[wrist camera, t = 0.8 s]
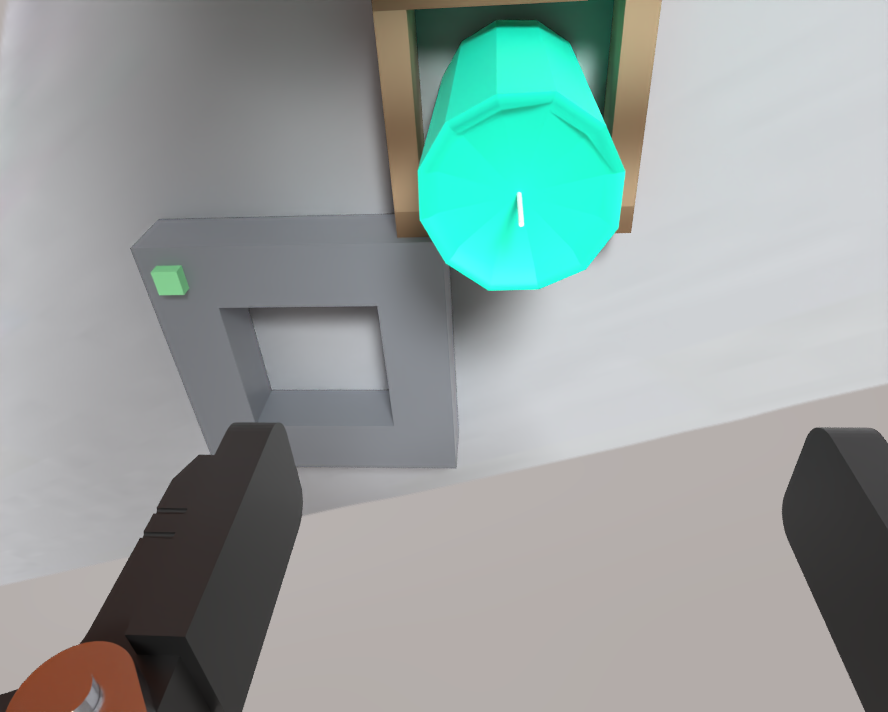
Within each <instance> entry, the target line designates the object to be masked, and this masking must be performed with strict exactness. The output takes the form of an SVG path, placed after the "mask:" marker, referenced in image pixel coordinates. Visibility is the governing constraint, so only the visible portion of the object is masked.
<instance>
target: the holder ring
mask: <svg viewBox="0 0 888 712" xmlns="http://www.w3.org/2000/svg"><path fill="white" fill-rule="evenodd" d="M371 1H372V10H373V19H374V29H375V38H376V47H377V56H378V65H379V74H380V84H381V93H382V102H383V111H384V120H385V129H386V138H387V148H388V157H389V166H390V175H391V184H392V193H393V203H394V212H395V221H396V230H397V238H407V237H430V236H429V235H428V233H427V231H426V230H425V228H424V226H423V225H422V223H421V221H420V216H419V192H418V167H419V164H420V160H421V156H422V152H423V148H424V133H423V120H422V106H421V93H420V79H419V66H418V52H417V39H416V25H415V12H414V9H432V8H452V7H471V6H490V5H509V4H529V3H548V2H567V1H586V0H371ZM661 2H662V0H614V8H613V19H612V30H611V40H610V51H609V62H608V73H607V83H606V94H605V105H604V116H603V120H604V122H605V124H606V126H607V129H608V131H609V133H610V136H611V138H612V140H613V143H614V145H615V148H616V150H617V152H618V155H619V157H620V159H621V162H622V164H623V166H624V169H625V171H626V172H625V180H624V188H623V196H622V204H621V212H620V220H619V228H618V229H617V230H616V232H615V233H631V228H632V221H633V213H634V206H635V198H636V191H637V183H638V176H639V168H640V160H641V153H642V145H643V138H644V130H645V123H646V115H647V108H648V100H649V93H650V85H651V77H652V70H653V62H654V55H655V47H656V40H657V32H658V25H659V17H660V10H661Z"/></svg>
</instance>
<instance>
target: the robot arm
mask: <svg viewBox="0 0 888 712" xmlns="http://www.w3.org/2000/svg"><path fill="white" fill-rule="evenodd" d="M302 505H303V498H302V489H301V484H300V480H299V477H298V473H297V469H296V465H295V462H294V458H293V454H292V451H291V447H290V443H289V439H288V436H287V432H286V429H285V427H284V425H283V424H282V423H267V422H235V423H232V424H231V425H230V426H229V427H228V429H227V431H226V433H225V435H224V437H223V439H222V441H221V443H220V445H219V447H218V449H217V451H216V453H215V455H198V456H197V457H196V458H195V459H194V460H193V461H192V462H191V463H190V464H188V465H187V466H186V467H185V468H184V469H183V470H182V471H181V472H180V473H179V474H178V475H177V476H176V477H174V478H173V479H172V481H171V483H170V485H169V487H168V488H167V490H166V492H165V494H164V496H163V497H162V499H161V501H160V503H159V505H158V507H157V513H156V514H153V516H152V517H151V519H150V521H149V523H148V525H147V526H146V528H145V530H144V536H143V538H140V539H139V541H138V543H137V545H136V546H135V548H134V550H133V552H132V554H131V555H130V557H129V559H128V561H127V563H126V565H125V566H124V568H123V570H122V572H121V574H120V575H119V577H118V579H117V581H116V583H115V584H114V586H113V588H112V590H111V592H110V594H109V595H108V597H107V599H106V601H105V603H104V605H103V606H102V608H101V610H100V612H99V614H98V615H97V617H96V619H95V621H94V622H93V624H92V626H91V628H90V630H89V631H88V633H87V635H86V636H85V638H84V639H83V640H82V642H81V643H80V644H79V645H76V646H73V647H70V648H68V649H66V650H64V651H61V652H60V653H58V654H57V655H55V656H53V657H51V658H50V659H48V660H47V661H46V662H44V663H43V664H42V665H40V666H39V667H38V668H37V669H36V670H35V671H34V672H32V673H31V675H30V676H29V677H28V678H27V679H26V680H25V681H24V682H23V683H22V684H21V686H20V687H19V689H17V690H14V691H11V692H8V693H5V694H1V695H0V712H242V710H243V707H244V703H245V700H246V697H247V694H248V690H249V687H250V684H251V681H252V678H253V675H254V671H255V668H256V665H257V661H258V658H259V655H260V652H261V649H262V646H263V642H264V639H265V636H266V633H267V629H268V626H269V623H270V620H271V616H272V613H273V610H274V607H275V604H276V600H277V597H278V594H279V591H280V588H281V584H282V581H283V578H284V575H285V572H286V568H287V565H288V562H289V559H290V555H291V552H292V549H293V546H294V542H295V539H296V536H297V533H298V530H299V526H300V522H301V516H302ZM782 518H783V525H784V529H785V533H786V536H787V538H788V541H789V543H790V546H791V548H792V550H793V552H794V554H795V557H796V559H797V561H798V563H799V565H800V568H801V570H802V572H803V574H804V577H805V579H806V581H807V583H808V586H809V588H810V590H811V592H812V594H813V597H814V599H815V601H816V603H817V606H818V608H819V610H820V612H821V614H822V617H823V619H824V621H825V623H826V626H827V628H828V630H829V632H830V634H831V637H832V639H833V641H834V643H835V645H836V647H837V650H838V652H839V654H840V657H841V659H842V661H843V663H844V665H845V668H846V670H847V672H848V674H849V676H850V679H851V681H852V683H853V685H854V688H855V690H856V692H857V694H858V697H859V699H860V701H861V703H862V705H863V708H864V710H865V712H888V443H887V442H886V440H885V439H884V437H882V435H881V434H880V433H879V432H878V431H877V430H875V429H872V428H814V429H812V430H811V431H810V433H809V434H808V436H807V438H806V440H805V443H804V446H803V449H802V451H801V454H800V456H799V459H798V461H797V464H796V466H795V469H794V472H793V474H792V477H791V479H790V482H789V485H788V487H787V490H786V492H785V495H784V499H783V505H782Z"/></svg>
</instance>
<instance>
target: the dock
mask: <svg viewBox="0 0 888 712" xmlns="http://www.w3.org/2000/svg"><path fill="white" fill-rule="evenodd" d="M130 249H131V251H132V254H133V257H134V259H135V262H136V264H137V267H138V269H139V272H140V274H141V277H142V280H143V282H144V285H145V287H146V290H147V292H148V295H149V297H150V300H151V303H152V305H153V308H154V310H155V313H156V315H157V318H158V321H159V323H160V326H161V328H162V331H163V333H164V336H165V338H166V341H167V344H168V346H169V349H170V351H171V354H172V356H173V359H174V361H175V364H176V367H177V369H178V372H179V374H180V377H181V379H182V382H183V385H184V387H185V390H186V392H187V395H188V397H189V400H190V402H191V405H192V408H193V410H194V413H195V415H196V418H197V420H198V423H199V425H200V428H201V431H202V433H203V436H204V438H205V441H206V443H207V446H208V449H209V451H210V454H211V455H215V453H216V451H217V449H218V447H219V445H220V443H221V441H222V439H223V437H224V435H225V433H226V431H227V429H228V427H229V426H230V425H231V424H232V423H235V422H267V423H282V424H283V425H284V427H285V429H286V432H287V436H288V439H289V443H290V447H291V451H292V454H293V458H294V462H295V465H296V467H377V468H456V467H457V452H458V437H459V424H458V407H457V389H456V371H455V354H454V336H453V319H452V301H451V283H450V266H449V265H448V264H446V263H445V261H444V260H443V258H442V256H441V255H440V253H439V251H438V250H437V248H436V246H435V245H434V243H433V241H432V240H431V238H430V237H407V238H397V230H396V221H395V214H363V215H322V216H280V217H239V218H198V219H159V220H158V221H157V222H156V223H155V224H154V225H153V226H152V227H151V228H150V229H149V230H148V231H147V232H146V233H145V234H144V235H143V236H142V237H141V238H140V239H139V240H138V241H137V242H136V243H135V244H134V245H133V246H132V247H131V248H130ZM340 306H377V308H378V315H379V322H380V330H381V337H382V344H383V351H384V358H385V365H386V372H387V380H388V387H389V390H271V387H270V383H269V379H268V376H267V372H266V369H265V365H264V362H263V358H262V355H261V351H260V348H259V344H258V341H257V337H256V334H255V330H254V327H253V323H252V320H251V316H250V313H249V309H248V308H255V307H340Z"/></svg>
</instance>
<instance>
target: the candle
mask: <svg viewBox="0 0 888 712" xmlns="http://www.w3.org/2000/svg"><path fill="white" fill-rule="evenodd" d="M625 172H626V171H625V169H624V166H623V164H622V162H621V159H620V157H619V155H618V152H617V150H616V148H615V145H614V143H613V140H612V138H611V136H610V133H609V131H608V129H607V126H606V124H605V122H604V120H603V117H602V115H601V113H600V110H599V108H598V106H597V104H596V101H595V99H594V97H593V95H592V92H591V90H590V88H589V85H588V83H587V81H586V79H585V76H584V74H583V72H582V70H581V67H580V65H579V63H578V60H577V58H576V56H575V54H574V51H573V49H572V47H571V45H570V42H568V41H567V40H565V39H564V38H562V37H561V36H560V35H558V34H557V33H555V32H554V31H552V30H551V29H549V28H548V27H546V26H545V25H543V24H542V23H540V22H539V21H537V20H495V21H494V22H492V23H491V24H489V25H487V26H486V27H484V28H483V29H481V30H479V31H478V32H476V33H475V34H473V35H471V36H470V37H468V38H467V39H465V40H463V41H462V42H461V44H460V46H459V47H458V49H457V51H456V53H455V55H454V57H453V59H452V60H451V62H450V64H449V66H448V68H447V70H446V72H445V73H444V75H443V77H442V81H441V84H440V88H439V92H438V96H437V99H436V103H435V107H434V111H433V115H432V118H431V122H430V126H429V130H428V133H427V137H426V141H425V145H424V148H423V152H422V156H421V160H420V164H419V167H418V192H419V216H420V221H421V223H422V225H423V226H424V228H425V230H426V231H427V233H428V235H429V236H430V238H431V240H432V241H433V243H434V245H435V246H436V248H437V250H438V251H439V253H440V255H441V256H442V258H443V260H444V261H445V263H446V264H448V265H449V266H451V267H452V268H454V269H455V270H457V271H459V272H460V273H462V274H463V275H465V276H466V277H468V278H469V279H471V280H473V281H474V282H476V283H477V284H479V285H480V286H482V287H484V288H485V289H487V290H488V291H495V290H533V289H541V288H543V287H545V286H548V285H550V284H552V283H555V282H557V281H560V280H562V279H564V278H567V277H569V276H571V275H574V274H576V273H579V272H581V271H583V270H586V269H587V267H588V266H589V265H590V263H591V262H592V261H593V260H594V258H595V257H596V256H597V255H598V253H599V252H600V251H601V249H602V248H603V247H604V246H605V244H606V243H607V242H608V241H609V239H610V238H611V237H612V236H613V234H614V233H615V232H616V230H617V229H618V228H619V220H620V212H621V204H622V196H623V188H624V180H625Z"/></svg>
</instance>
